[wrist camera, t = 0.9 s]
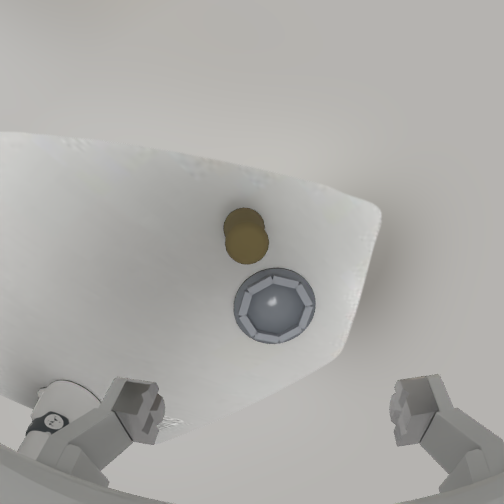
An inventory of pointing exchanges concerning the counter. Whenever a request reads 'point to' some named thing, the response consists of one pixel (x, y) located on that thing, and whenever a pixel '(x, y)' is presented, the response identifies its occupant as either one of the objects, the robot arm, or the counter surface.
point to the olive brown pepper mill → (245, 236)
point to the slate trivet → (274, 306)
